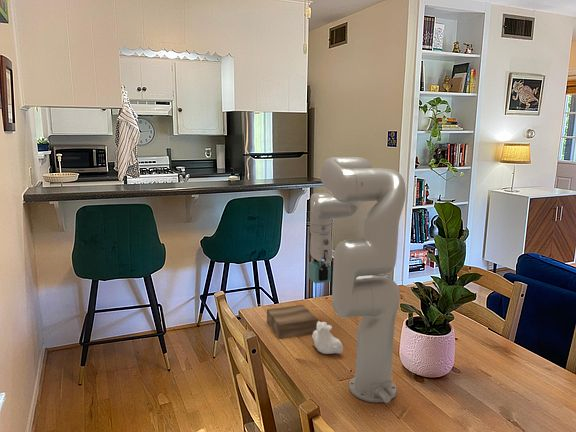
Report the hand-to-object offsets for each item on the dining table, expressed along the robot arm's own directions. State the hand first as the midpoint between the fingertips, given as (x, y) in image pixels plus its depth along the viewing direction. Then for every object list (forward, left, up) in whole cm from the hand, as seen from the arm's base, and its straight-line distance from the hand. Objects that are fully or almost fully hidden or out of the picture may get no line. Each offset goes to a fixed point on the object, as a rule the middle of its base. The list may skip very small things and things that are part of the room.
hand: (319, 276), depth 164 cm
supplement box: (+7, -22, -18) cm, 29 cm away
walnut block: (-1, +11, -17) cm, 20 cm away
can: (+13, -32, -18) cm, 39 cm away
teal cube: (0, 0, -1) cm, 1 cm away
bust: (-21, +7, -18) cm, 28 cm away
